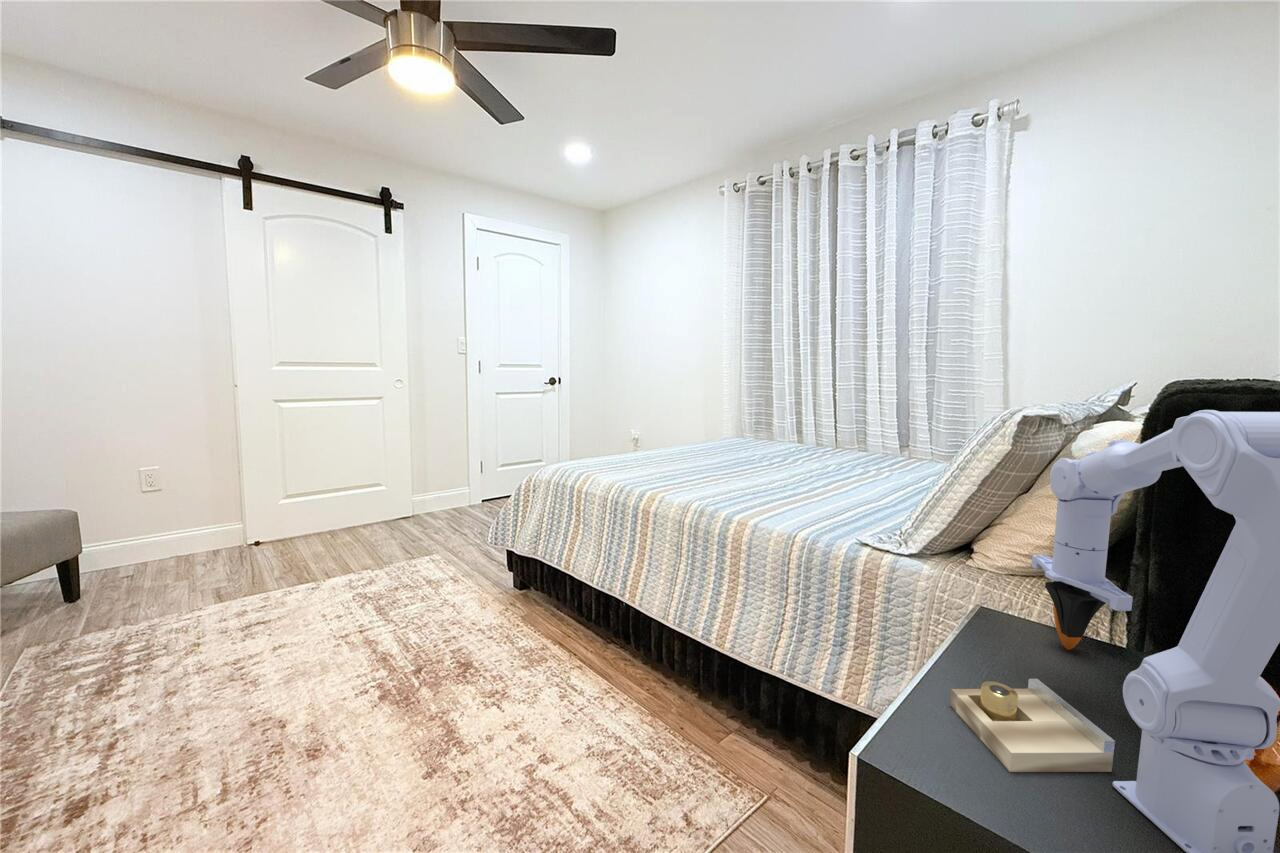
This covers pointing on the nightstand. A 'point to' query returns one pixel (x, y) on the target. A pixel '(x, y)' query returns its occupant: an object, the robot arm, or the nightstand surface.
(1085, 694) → the nightstand surface
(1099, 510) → the robot arm
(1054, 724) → the jig
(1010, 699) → the bushing
